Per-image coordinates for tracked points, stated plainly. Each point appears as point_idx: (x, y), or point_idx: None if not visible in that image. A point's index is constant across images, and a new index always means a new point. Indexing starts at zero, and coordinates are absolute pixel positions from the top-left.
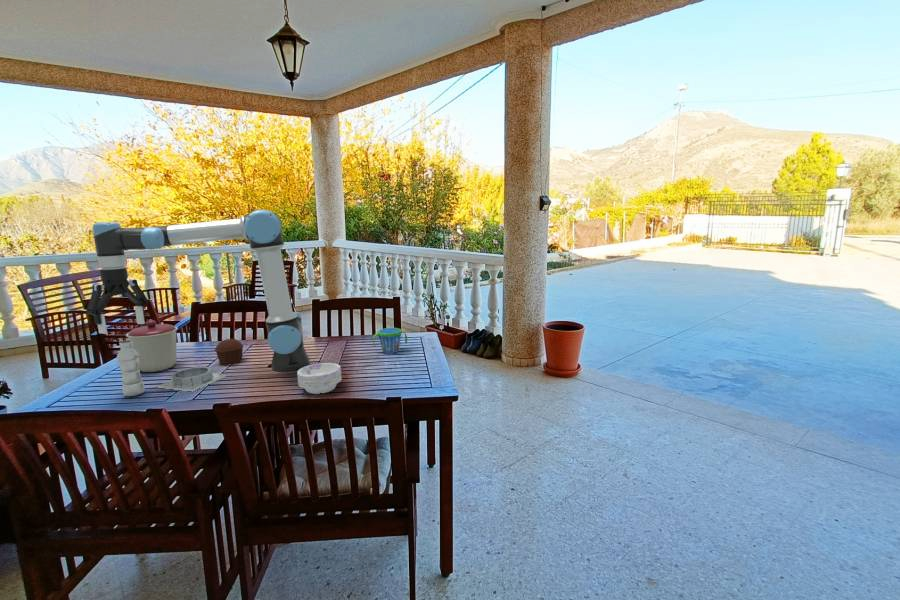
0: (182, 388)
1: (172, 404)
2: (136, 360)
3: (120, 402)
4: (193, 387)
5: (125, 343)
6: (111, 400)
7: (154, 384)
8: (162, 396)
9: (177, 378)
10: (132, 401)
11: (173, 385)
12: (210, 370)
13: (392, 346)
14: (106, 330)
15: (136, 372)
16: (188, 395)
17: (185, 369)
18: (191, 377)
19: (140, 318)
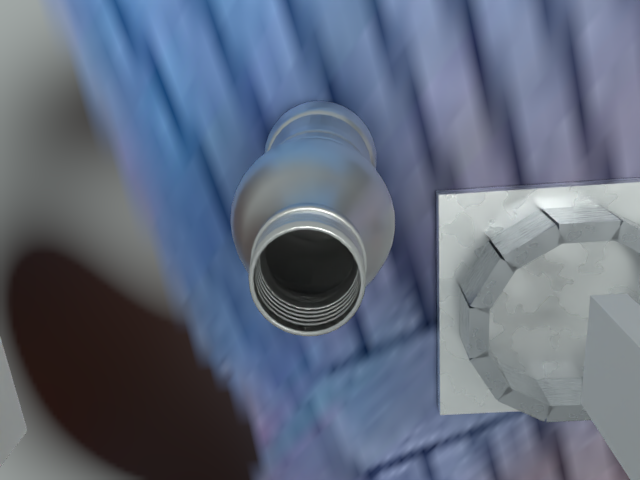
0: (440, 358)
1: (296, 437)
2: (330, 281)
3: (223, 178)
4: (465, 398)
5: (272, 323)
6: (222, 97)
7: (484, 100)
8: None
9: (473, 334)
10: None
11: (464, 276)
12: None
13: None
14: (1, 460)
15: (321, 239)
16: (399, 419)
17: (629, 239)
18: (504, 393)
19: (625, 437)
